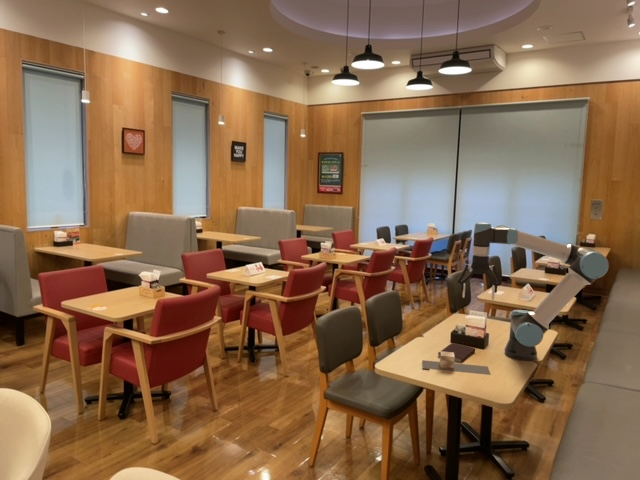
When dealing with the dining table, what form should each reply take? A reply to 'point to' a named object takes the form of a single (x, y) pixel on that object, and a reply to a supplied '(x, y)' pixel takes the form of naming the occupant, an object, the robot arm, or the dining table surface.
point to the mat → (457, 367)
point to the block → (447, 360)
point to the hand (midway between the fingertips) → (478, 298)
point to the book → (459, 351)
